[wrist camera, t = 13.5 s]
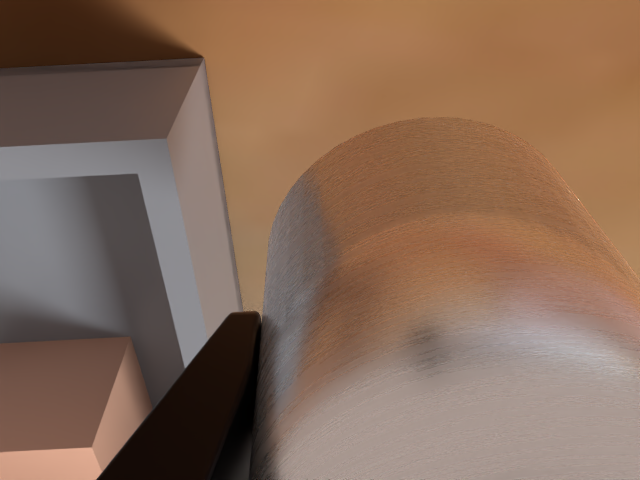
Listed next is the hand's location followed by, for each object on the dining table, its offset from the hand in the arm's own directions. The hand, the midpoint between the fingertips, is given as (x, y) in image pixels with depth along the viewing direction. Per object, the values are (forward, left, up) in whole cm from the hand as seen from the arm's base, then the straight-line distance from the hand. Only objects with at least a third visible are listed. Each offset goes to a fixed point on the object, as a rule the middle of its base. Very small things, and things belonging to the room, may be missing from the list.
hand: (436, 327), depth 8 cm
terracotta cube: (-12, +12, -11) cm, 20 cm away
